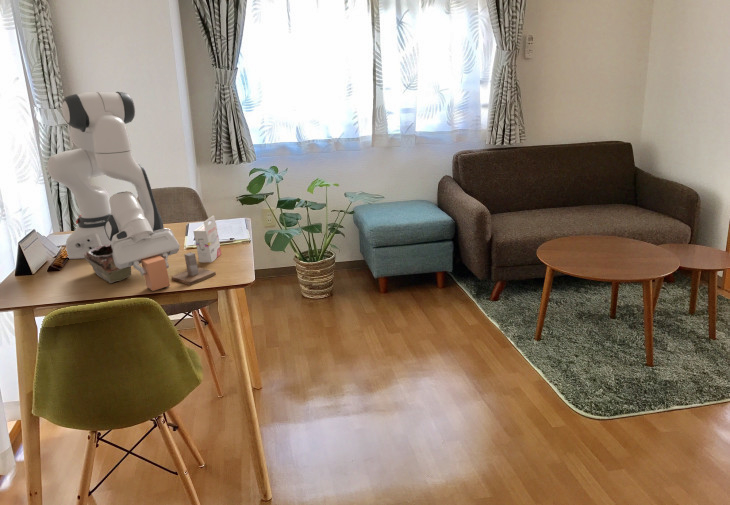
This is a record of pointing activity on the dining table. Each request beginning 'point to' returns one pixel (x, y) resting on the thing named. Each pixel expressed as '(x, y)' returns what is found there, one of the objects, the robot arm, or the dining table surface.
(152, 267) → the salmon pink toy brick
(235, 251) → the dining table surface
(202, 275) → the post stand
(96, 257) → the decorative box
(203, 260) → the ink cartridge box
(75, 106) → the robot arm
